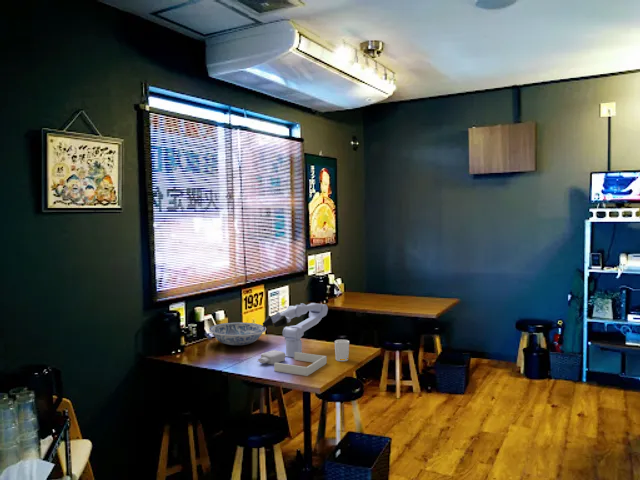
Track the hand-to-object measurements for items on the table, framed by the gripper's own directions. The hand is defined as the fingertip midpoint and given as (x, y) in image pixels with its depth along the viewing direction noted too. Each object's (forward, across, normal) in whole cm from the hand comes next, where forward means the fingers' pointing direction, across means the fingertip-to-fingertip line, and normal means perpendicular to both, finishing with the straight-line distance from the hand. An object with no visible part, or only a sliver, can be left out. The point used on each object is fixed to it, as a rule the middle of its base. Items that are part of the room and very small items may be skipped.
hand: (269, 325), depth 251 cm
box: (-2, +14, +23) cm, 27 cm away
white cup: (-24, +24, +28) cm, 44 cm away
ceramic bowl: (-20, -45, +20) cm, 53 cm away
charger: (0, -5, +21) cm, 22 cm away
